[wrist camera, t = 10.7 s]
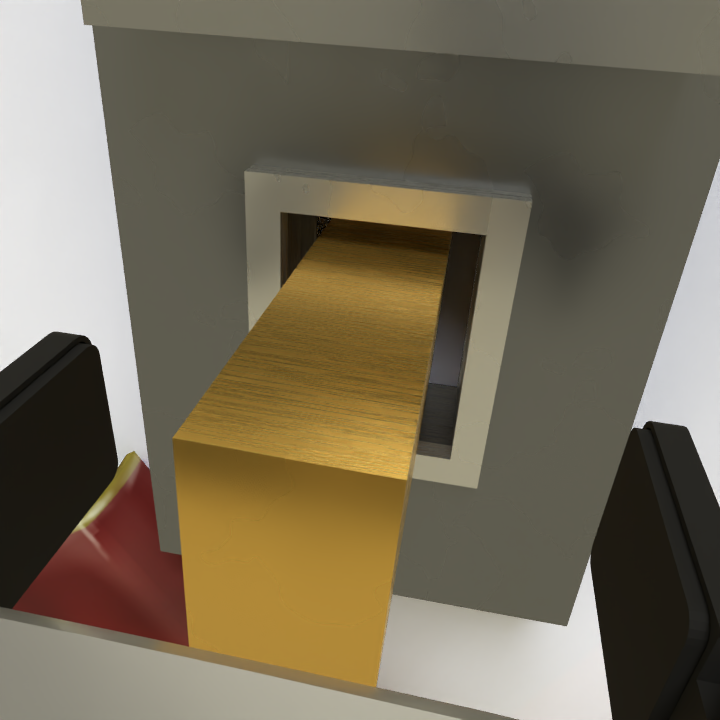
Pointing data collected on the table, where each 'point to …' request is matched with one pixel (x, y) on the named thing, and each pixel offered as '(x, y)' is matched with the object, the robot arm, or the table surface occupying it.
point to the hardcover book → (116, 567)
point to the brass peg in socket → (312, 456)
